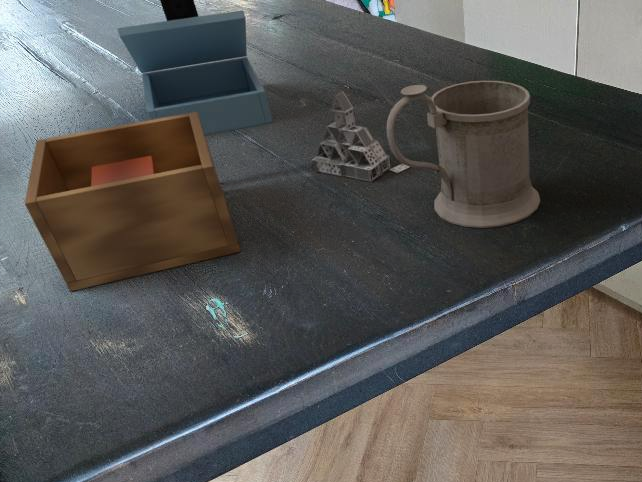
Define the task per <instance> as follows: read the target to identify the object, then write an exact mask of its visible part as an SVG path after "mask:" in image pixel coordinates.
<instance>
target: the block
mask: <svg viewBox="0 0 642 482" xmlns="http://www.w3.org/2000/svg"><path fill="white" fill-rule="evenodd" d="M157 173H158V171H157V168H156V166H155V163H154V160H153V158H152V156H147V157H141V158H136V159H131V160H126V161H120V162H115V163H110V164H105V165H99V166H94V167H92V175H91V186H96V185H101V184H106V183H111V182H116V181H121V180H126V179H131V178H136V177H142V176H147V175H152V174H157Z"/></svg>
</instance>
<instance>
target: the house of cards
mask: <svg viewBox="0 0 642 482" xmlns="http://www.w3.org/2000/svg"><path fill="white" fill-rule="evenodd" d="M353 109H354V107H353V105H352V104H351V102H350V100H349V98H348V97H347V95H346V93H345V92H344V90H342V91H340V92H338V93H336V94H335V95H334V98H333V101H332V105H331V108H330V111H332V113H333V119H334V122H332V123H331V124H329V125H327V126H326V129H325V134H324V137H323V141H321V142H320V143H319V146H318V150H317V152H316V153H317V154H316V156H315V157H314V158H312V159H311V161H312V165H313V170H314V173H316V172H317V173H318V172H319V173H324V174H328V175H335V176H338V177H339V176H340V177H341V178H343V177H345V178H346V177H347V178H351V179H356V180H360V181H361V180H362V181H367V182H370V183H371V182H373V181H374V180H376V179H377V178H378V177H380V176H383V175H384V173H385V172H387V170H389V171H392V172H394V173H396V174H399V173H400V172H403V171H405V170H407V169H408V168H410V166H407V165H405V164H403V163H400V164H399V165H396V166H394V167H392V168H391V163H390V162H391V161H390V155H389V154H388V155H387V154H386V152H385V150H384V149H383V147H382V146H381V144H380V142H379V141H378V140H376V139H374V138H373V136H372V135H371V133H370V131H369V130H368V128H367V127H366V126H365V127H363V126H359V125H356V122H355V116H354V112H353V111H354V110H353ZM343 113H344V115H343ZM344 117H345V118H344Z"/></svg>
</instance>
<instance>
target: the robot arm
mask: <svg viewBox="0 0 642 482" xmlns="http://www.w3.org/2000/svg"><path fill="white" fill-rule="evenodd" d="M159 1H160V4H161V7H162V10H163V13H164V17H165V19H166V20H165V21H171V20H178V19H185V18H192V17H199V16H200V15H199V13H198V10H197V6H196V3H195V0H159Z"/></svg>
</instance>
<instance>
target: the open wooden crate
mask: <svg viewBox="0 0 642 482" xmlns="http://www.w3.org/2000/svg"><path fill="white" fill-rule="evenodd" d="M147 156H152V158H153V160H154V163H155V166H156V168H157V171H158V173H157V174H152V175H147V176H142V177H136V178H131V179H126V180H121V181H116V182H111V183H106V184H101V185H96V186H91V175H92V167H94V166H99V165H105V164H110V163H115V162H120V161H126V160H131V159H136V158H141V157H147ZM215 165H216V164H215V162H214V159H213V156H212V153H211V150H210V147H209V143H208V141H207V137H206V135H205V134H204V131H203V128H202V125H201V122H200V119H199V116H198V112H193V113H189V114H188V113H187V114H182V115H176V116H170V117H165V118H159V119H153V120H150V119H149V120H142V121H138V122H132V123H125V124H121V125H115V126H108V127H103V128H98V129H92V130H87V131H79V132H75V133H69V134H64V135H58V136H52V137H47V138H43V139H37V140H36V141H35V146H34V152H33V157H32V162H31V167H30V173H29V178H28V184H27V189H26V195H25V199H24V200H25V201H24V206H25V208H26V209H27V211H28V213H29V216H30V217H31V219H32V221H33V223H34V225H35V227H36V229H37V231H38V233H39V235H40V237H41V238H42V241H43V243H44V244H45V247H46V249H47V250H48V252H49V253H50V256H51V258H52V259H53V261H54V263H55V265H56V268H57V269H58V271H59V272H60V275H61V277H62V279H63V281H64V283H65V285H66V287H67V288H68V290H69V292H74V291H79V290H84V289H86V288H91V287H97V286H100V285H104V284H108V283H112V282H117V281H122V280H127V279H130V278H134V277H139V276H142V275H146V274H151V273H156V272H159V271H164V270H168V269H172V268H177V267H180V266H185V265H190V264H194V263H198V262H199V263H200V262H203V261H207V260H212V259H216V258H220V257H224V256H229V255H233V254H238V253H240V252H241V248H240V244H239V241H238V237H237V234H236V231H235V227H234V225H233V221H232V217H231V214H230V210H229V207H228V204H227V201H226V197H225V193H224V190H223V186H222V184H221V181H220V177H219V175H218V172H217V169H216V166H215Z"/></svg>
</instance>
